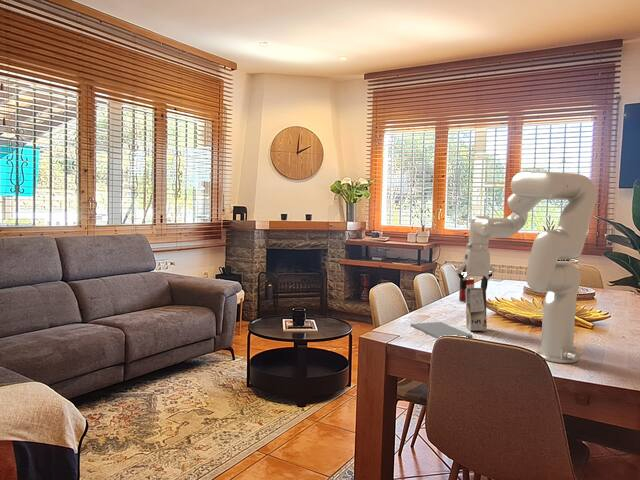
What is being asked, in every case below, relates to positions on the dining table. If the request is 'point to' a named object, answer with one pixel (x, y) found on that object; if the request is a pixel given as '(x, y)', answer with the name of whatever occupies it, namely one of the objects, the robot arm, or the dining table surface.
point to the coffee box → (476, 309)
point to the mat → (439, 329)
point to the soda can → (463, 292)
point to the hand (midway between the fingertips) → (473, 289)
